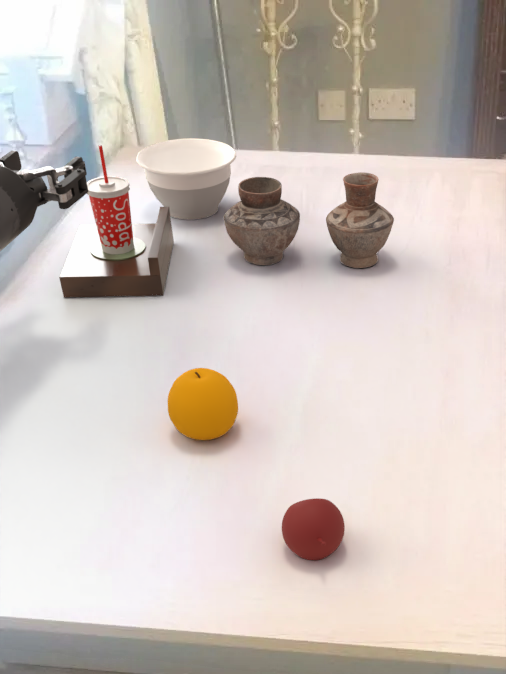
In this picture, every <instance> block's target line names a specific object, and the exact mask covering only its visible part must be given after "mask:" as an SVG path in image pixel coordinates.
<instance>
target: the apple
mask: <svg viewBox="0 0 506 674" xmlns="http://www.w3.org/2000/svg"><path fill="white" fill-rule="evenodd" d="M167 413H168V417H169V419H170V421H171V423H172V424H173V426H174V427H175V429H176V430H177V431H178V432H179V434H182V435H183V436H185V437H186V438H189V439H191V440H192V439H193V440H195V441H209V440H214V439H218V438H220V437H222V436H223V435H225V434H226V433H228V432H229V431H230V430H231V429H232V428H233V426H234V425H235V423H236V420H237V417H238V414H239V401H238V396H237V391H236V389H235V387H234V385H233V384H232V383H231V382H230V380H229V379H228V378H227V377H226V376H225V375H224V374H222V373H220V372H219V371H217V370H215V369H211V368H207V367H196V368H191V369H189V370H186V371H184V372H182V373H181V375H179V376H178V377H176V378H175V380H174V381H173V383H172V385H171V387H170V389H169V390H168V395H167Z"/></svg>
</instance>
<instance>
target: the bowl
mask: <svg viewBox="0 0 506 674" xmlns="http://www.w3.org/2000/svg"><path fill="white" fill-rule="evenodd" d="M236 159H237V152H236V150H235V148H233V147H232V146H231V145H229V144H227V143H225V142H222V141H219V140H215V139H208V138H194V137H190V138H187V137H186V138H174V139H168V140H163V141H159V142H156V143H153V144H150V145H147V146H146V147H144V148H142V149H141V150H140V151H139V152H137V155H136V158H135V161H136V164H137V165H138V166H139V167H140V168H141V169H143V171H144V176H145V179H146V182H147V184H148V187H149V189H150V191H151V192H152V194H153V195H154V197H155V199H157V201H158V202H159V203H160V204H161V205H162V207H169V209H170V217H171V218H174V219H177V220H178V219H179V220H186V221H187V220H188V221H190V220H191V221H192V220H193V221H195V220H201V219H206V218H209V217H211V216H214V215H215V214H217V212H218V211H219V206H220V204H221V202H222V200H223V199H224V197H225V195H226V192H227V191H228V187H229V185H230V181H231V175H232V170H231V169H232V168H231V167H232V165H231V164H232V163H234V162H235V161H236Z"/></svg>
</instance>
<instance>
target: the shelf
mask: <svg viewBox="0 0 506 674" xmlns="http://www.w3.org/2000/svg"><path fill="white" fill-rule="evenodd" d="M132 232H133V242H134V248H133V250H131V251H129V252H127V253H124V254H108V253H105V252H104V251H103V250H102V246H101V242H100V238H99V234H98V230H97V226H96V223H95V224H79V225H78V228H77V231H76V233H75V234H74V235H75V236H74V238H73V241H72V243H71V246H70V247H69V251H68V254H67V256H66V259H65V262H64V264H63V266H62V268H61V272H60V274H59V276H58V277H59V283H60V288H61V291H62V295H63V298H101V297H102V298H104V297H105V298H106V297H108V298H110V297H151V296H153V297H154V296H155V297H157V296H159V297H160V296H161V297H162V296H164V293H165V289H166V283H167V278H168V273H169V268H170V264H171V258H172V253H173V248H174V243H175V242H174V233H173V226H172V217H171V216H170V209H169V207H164V206H159V209H158V213H157V217H156V222H155V223H154V222H153V223H132Z"/></svg>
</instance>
